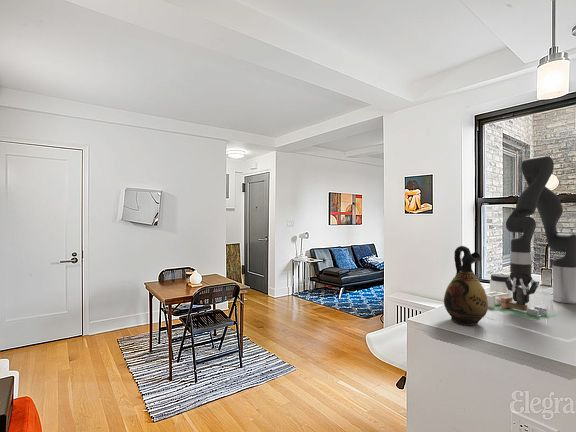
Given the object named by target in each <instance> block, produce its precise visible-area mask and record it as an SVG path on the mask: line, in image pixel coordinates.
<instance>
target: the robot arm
mask: <svg viewBox="0 0 576 432" xmlns="http://www.w3.org/2000/svg"><path fill="white" fill-rule="evenodd" d="M520 165H521V168H520V169H521V172H522V175H523V177H524V179H525V182H526V183H527V185H528V186H527V187H526V188H525V189H524V190H523V191H522V192H521V194H520V195H519V197H518V200H517V203H516V206H515V208H514V209H513V211H512V212H511V214H510V215H509V216H508V217H507V218H506V222H505V228H506V230H507V231H509V233H510V232H511V233H518V234H519V233H521V234H522V236H521V237H513V238H512V239H511V240H510V256H509V265H510V266H509V269H510V270H509V272H510V275H509V276H508V277H504V281H505V283H506V286H507V288H508V290H511V293H512V301H513V302H516V287H522V289H523V294H524V295H523V303H525V304H526V305H527V304H528V303H529V302H530V295H534V294H535V292H536V290H537V289H538V287H539V285H540V281H538V280H537V281H536V280H534V279H533V277H532V250H531V249H532V248H531V247H532V246H531V245H532V240H533V236H534V233H535V230H536V227H537V222H536V220H535V218H533V217H532V215H534V214H535V212H536V209H537V211H538V215H539V217H540V220H541V223H542V225H543V230H544V233H545V238H546V242H547V245H548V247H549V249H550V251H552V252H559V253H565V254H564V256H562V257H560V258H554V259H553V260H552V269H551V271H552V272H551V273H552V281H551V282H552V283H551V285H552V287H551V288H552V289H551V290H552V295H551V296H552V299H551V300H552V301H555V302H558V303H561V304H563V303H565V304H576V234H575V233H561V232H560V233H559V232H558V230H557V223H558V222H559V220H560V218H561V216H562V215H563V212H564V208H563V206H562V202H561V200H560V199H561V198H560V197H559V196H558V195H557V194H556V193H555V192H553V191H552V190H551V189H550V188H548V187H547V186H546V185H547V183H548V182H549V181H550V180H549V179H550V178H551V176H552V175H553V172H554V168H555V167H554V166H555V164H554V160H553V158H552V157H551V156H550V155H543V156H535V157H529V158H526V159H523V160H522V162H521V164H520Z"/></svg>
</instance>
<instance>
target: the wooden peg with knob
mask: <svg viewBox="0 0 576 432" xmlns="http://www.w3.org/2000/svg"><path fill="white" fill-rule="evenodd" d="M523 295H524V294H523V289H522V287H521V286H520V287H516V301H514V300H513V296H511V297H508V296H507V297H501V307H502V308H513V309H517V310H521V311H527V308H528V304H527V303H526V304H525V303H523Z"/></svg>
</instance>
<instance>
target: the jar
mask: <svg viewBox="0 0 576 432" xmlns="http://www.w3.org/2000/svg"><path fill="white" fill-rule="evenodd" d="M508 276H510V275H508V274H504V273H503V274H501V273H492V274H490V279H489V292H500V293H509V297H512V291H511V290H508V288H507V286H506V283H505V281H504V277H508Z"/></svg>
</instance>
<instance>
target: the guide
mask: <svg viewBox="0 0 576 432" xmlns="http://www.w3.org/2000/svg"><path fill="white" fill-rule="evenodd" d="M547 313H548V308H546V307H542V306H539V305H538V306H537V305H536V306H534V308H530V307H527V315H528V316H532V317H536V318H539V317H544V316H547Z"/></svg>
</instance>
